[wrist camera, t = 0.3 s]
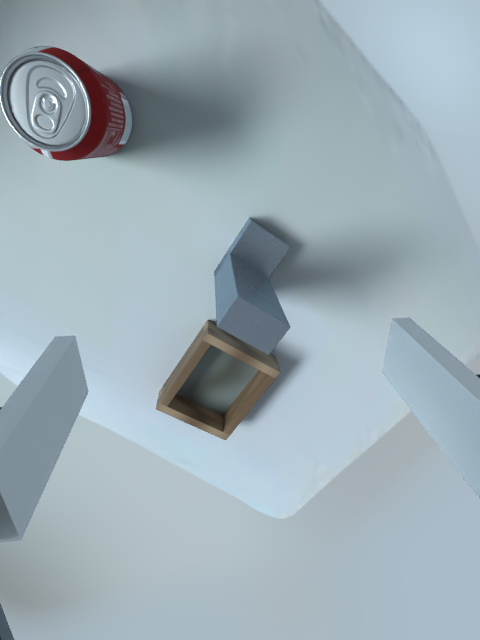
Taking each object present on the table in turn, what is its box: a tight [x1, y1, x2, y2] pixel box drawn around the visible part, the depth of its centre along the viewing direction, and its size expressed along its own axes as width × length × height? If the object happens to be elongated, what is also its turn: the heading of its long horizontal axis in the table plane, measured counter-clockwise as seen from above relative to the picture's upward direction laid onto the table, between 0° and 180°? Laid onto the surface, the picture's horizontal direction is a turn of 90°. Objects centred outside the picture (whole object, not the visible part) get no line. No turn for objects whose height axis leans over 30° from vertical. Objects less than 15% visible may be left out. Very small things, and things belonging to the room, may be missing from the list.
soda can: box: [0, 46, 133, 161], centre depth 29 cm, size 7×7×12 cm
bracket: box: [214, 218, 290, 355], centre depth 35 cm, size 7×5×14 cm
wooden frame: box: [156, 320, 280, 440], centre depth 46 cm, size 10×12×4 cm
